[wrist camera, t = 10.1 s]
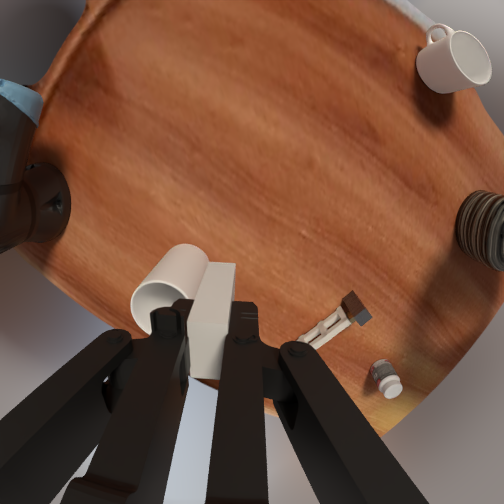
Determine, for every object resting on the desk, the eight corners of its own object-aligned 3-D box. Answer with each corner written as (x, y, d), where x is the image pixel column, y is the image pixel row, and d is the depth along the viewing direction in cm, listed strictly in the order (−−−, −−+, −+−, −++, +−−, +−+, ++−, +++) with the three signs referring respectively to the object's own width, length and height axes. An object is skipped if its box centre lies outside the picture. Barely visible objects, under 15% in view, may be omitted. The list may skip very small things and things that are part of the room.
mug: (435, 103, 42) (474, 94, 30) (396, 49, 39) (428, 27, 28) (461, 81, 40) (499, 72, 29) (424, 30, 37) (457, 10, 26)
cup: (215, 284, 52) (202, 335, 36) (171, 293, 52) (144, 343, 37) (203, 238, 49) (181, 274, 34) (157, 249, 50) (120, 287, 34)
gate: (284, 353, 56) (287, 369, 51) (280, 350, 55) (282, 366, 51) (343, 309, 53) (351, 323, 48) (340, 305, 53) (347, 319, 48)
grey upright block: (331, 307, 53) (340, 327, 46) (352, 290, 52) (365, 308, 45) (340, 318, 54) (350, 338, 47) (361, 301, 53) (374, 319, 46)
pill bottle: (367, 365, 57) (380, 390, 49) (387, 354, 57) (401, 378, 49) (373, 378, 58) (385, 403, 50) (391, 368, 58) (405, 392, 50)
